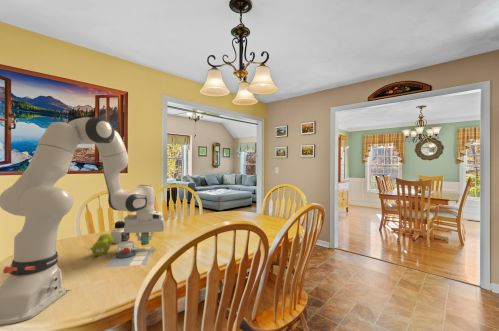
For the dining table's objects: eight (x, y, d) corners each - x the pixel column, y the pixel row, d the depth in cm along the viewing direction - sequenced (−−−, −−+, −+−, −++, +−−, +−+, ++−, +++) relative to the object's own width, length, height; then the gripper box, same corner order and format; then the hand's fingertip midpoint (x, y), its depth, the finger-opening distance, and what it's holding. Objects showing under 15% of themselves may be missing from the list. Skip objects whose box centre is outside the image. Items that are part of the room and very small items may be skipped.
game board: (145, 266, 109) (145, 257, 108) (104, 269, 105) (104, 260, 105) (154, 248, 131) (154, 241, 131) (120, 250, 127) (120, 242, 127)
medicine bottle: (121, 244, 136) (121, 223, 136) (110, 243, 138) (110, 222, 137) (129, 240, 144) (130, 220, 143) (119, 239, 145) (119, 219, 144)
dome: (131, 252, 116) (131, 245, 116) (115, 253, 115) (115, 246, 115) (135, 247, 123) (135, 240, 123) (120, 247, 122) (120, 241, 122)
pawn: (147, 245, 126) (147, 233, 126) (139, 245, 126) (140, 233, 126) (149, 242, 130) (149, 231, 130) (142, 242, 129) (142, 231, 129)
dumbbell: (108, 256, 120) (108, 241, 120) (90, 258, 117) (90, 243, 117) (114, 245, 135) (114, 232, 135) (97, 246, 132) (98, 233, 132)
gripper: (122, 216, 122) (122, 243, 122) (164, 215, 127) (163, 241, 127) (126, 213, 128) (125, 239, 129) (165, 212, 133) (165, 237, 133)
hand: (144, 240), depth 128 cm, fingers closed on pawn, 4 cm apart
